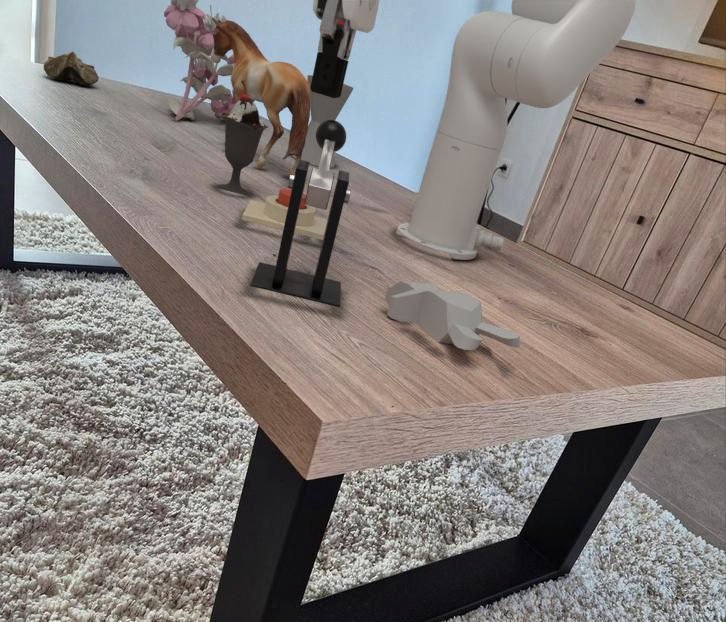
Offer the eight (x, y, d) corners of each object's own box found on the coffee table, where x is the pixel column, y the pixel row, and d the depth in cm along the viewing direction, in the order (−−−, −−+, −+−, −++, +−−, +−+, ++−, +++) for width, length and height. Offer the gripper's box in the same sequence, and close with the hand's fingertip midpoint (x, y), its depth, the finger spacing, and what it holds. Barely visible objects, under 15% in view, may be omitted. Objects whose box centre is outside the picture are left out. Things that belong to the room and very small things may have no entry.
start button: (305, 206, 90) (308, 193, 89) (303, 213, 87) (306, 200, 86) (278, 199, 89) (281, 186, 89) (275, 206, 86) (278, 192, 85)
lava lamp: (342, 170, 135) (390, -29, 119) (301, 163, 130) (344, -45, 114) (325, 158, 141) (367, -32, 126) (285, 151, 137) (324, -48, 121)
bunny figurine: (437, 272, 76) (537, 318, 65) (427, 316, 78) (523, 367, 67) (369, 270, 70) (466, 319, 59) (360, 317, 72) (452, 373, 61)
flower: (262, 138, 134) (289, 14, 134) (145, 98, 126) (173, -35, 125) (242, 160, 153) (266, 51, 152) (139, 127, 145) (164, 11, 144)
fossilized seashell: (103, 75, 146) (55, 70, 145) (95, 46, 140) (45, 41, 140) (95, 97, 142) (46, 93, 142) (87, 69, 137) (36, 64, 136)
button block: (327, 231, 94) (333, 207, 92) (325, 248, 87) (331, 222, 85) (248, 211, 92) (253, 186, 91) (240, 227, 85) (244, 200, 84)
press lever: (315, 136, 73) (321, 110, 70) (344, 144, 73) (350, 118, 71) (298, 206, 66) (303, 179, 63) (330, 215, 66) (337, 188, 64)
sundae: (220, 181, 102) (236, 76, 96) (261, 194, 102) (281, 89, 95) (202, 188, 97) (218, 76, 90) (246, 202, 96) (266, 91, 89)
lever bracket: (257, 272, 73) (280, 151, 67) (338, 291, 74) (368, 175, 68) (248, 295, 67) (273, 164, 61) (337, 316, 68) (370, 190, 62)
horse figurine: (193, 135, 127) (210, 14, 118) (229, 140, 132) (248, 24, 123) (283, 189, 108) (311, 50, 99) (321, 192, 113) (351, 60, 104)
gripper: (388, -106, 61) (339, 107, 69) (413, -73, 74) (370, 102, 83) (310, -128, 62) (271, 86, 70) (348, -91, 75) (312, 84, 83)
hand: (324, 94), depth 76 cm, fingers closed
